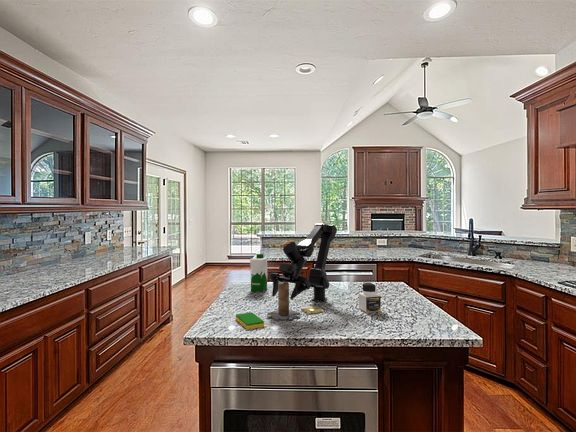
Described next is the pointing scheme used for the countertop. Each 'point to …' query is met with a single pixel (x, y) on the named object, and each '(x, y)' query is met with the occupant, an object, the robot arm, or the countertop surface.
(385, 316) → the countertop surface
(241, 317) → the dish sponge
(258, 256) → the milk carton
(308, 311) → the brass gear disc
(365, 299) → the medicine bottle
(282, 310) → the walnut axle
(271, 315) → the steel gear disc
